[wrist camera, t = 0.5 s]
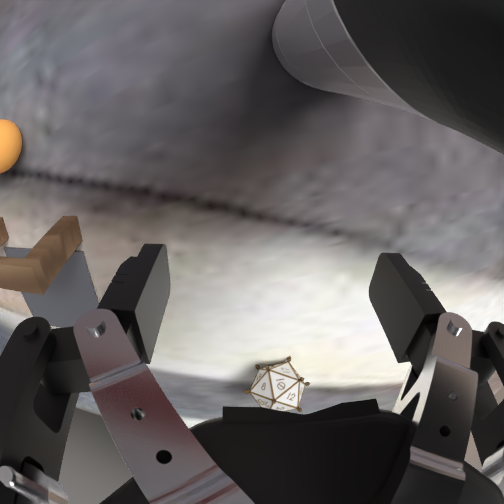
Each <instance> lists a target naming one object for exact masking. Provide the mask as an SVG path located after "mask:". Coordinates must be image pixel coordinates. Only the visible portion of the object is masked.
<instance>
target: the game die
mask: <svg viewBox="0 0 504 504" xmlns="http://www.w3.org/2000/svg"><path fill="white" fill-rule="evenodd" d="M290 361H291V357H288V359H287V362H284V363H280V364H276V365H272V366H266V367H263V368H260V367H259V365H256V368H257V369H258V373H257V375H256V377H255V379H254V382H253V384H252V386H251V388H250V390H245V391H244V393H246V394H247V393H250V394H251V395H252V396H253V398H254V399H255V400H256V401H257V403H258V404H259V405H260V406H261V407H265V408H269V409H274V410H279V411H289V410H293V409H297V410H298V411H299V412H302V409H301V408H299V404H300V401H301V397H302V394H303V391H304V387H305V385H306V386H307V385H309V384H310V383H309V382H306V383H304V382H303V381H304V378H302V377H300V376H299V375H298V373H297V372H296V371H295V369H294V368H293V367H292V365H291V364H290V363H289V362H290Z"/></svg>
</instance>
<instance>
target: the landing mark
mask: <svg viewBox="0 0 504 504" xmlns="http://www.w3.org/2000/svg"><path fill="white" fill-rule="evenodd" d="M4 250H5V253H6V256H7V257H12V258H25V256H26V255H27V254H28V253H29V252H30V251H31V250H32V249H26V248H9V247H4ZM22 294H23V296H24V299H25V301H26V303H27V305H28V307H29V309H30V311H31V313H32V315H33V317H43V318H45V319H46V320H47V321H48V322H49V324H50V325H51V326H56V327H62V328H65V327H72V326H74V324H75V322H76V320H77V319H78V318H79V317H80V316H81V315H82V314H84V313H86V312H88V311H90V310H93V309H97V307H98V305H99V302H98V299H97V296H96V293H95V290H94V287H93V284H92V281H91V277H90V274H89V271H88V267H87V264H86V260H85V256H84V253H83V251H74V252H73V253H72V255H71V256H70V257H69V259H68V260H67V261H66V263H65V264H64V266H63V267H62V268H61V270H60V271H59V273H58V274H57V275H56V277H55V278H54V280H53V281H52V283H51V284H50V286H49V287H48V289H47V290H46V292H45V293H44V295H41V294H34V293H27V292H22Z"/></svg>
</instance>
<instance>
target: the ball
mask: <svg viewBox="0 0 504 504" xmlns="http://www.w3.org/2000/svg"><path fill="white" fill-rule="evenodd" d="M21 148H22V137H21V133H20V131H19V129H18V127H17V126H16V125H15V124H14V123H13V122H11V121H9V120H4V119H1V120H0V173H3V172H5V171H7V170H8V169H10V168H11V167H12V166H13V165H14V164H15V162H16V161H17V159H18V157H19V155H20V152H21Z"/></svg>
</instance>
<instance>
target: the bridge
mask: <svg viewBox="0 0 504 504" xmlns="http://www.w3.org/2000/svg"><path fill="white" fill-rule="evenodd" d="M8 238H9V237H8V234H7V231H6V228H5V224H4V221H3V218H2V217H1V218H0V246H1V245H2V244H3V243H4V242H5V241H6V240H7V239H8ZM81 242H82V236H81V232H80V228H79V223H78V219H77V216H63V217H62V218H61V219H60V220H59V221H58V222H57V223H56V224H55V225H54V226H53V227H52V228H51V229H50V230H49V231H48V232H47V233H46V234H45V235H44V236H43V237H42V238H41V240H40V241H39V242H38V243H37V244H36V245H35V246H34V247H33V248H32V250H31V251H30V252H29V253H28V254H27V255H26V256H25V258H12V257H0V288H3V289H9V290H15V291H21V292H27V293H34V294H41V295H44V293H45V292H46V290H47V289H48V287H49V286H50V284H51V283H52V281H53V280H54V278H55V277H56V275H57V274H58V273H59V271H60V270H61V268H62V267H63V266H64V264H65V263H66V261H67V260H68V259H69V257H70V256H71V255H72V253H73V252H74V251H75V249H76V248H77V247H78V245H79V244H80V243H81Z"/></svg>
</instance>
